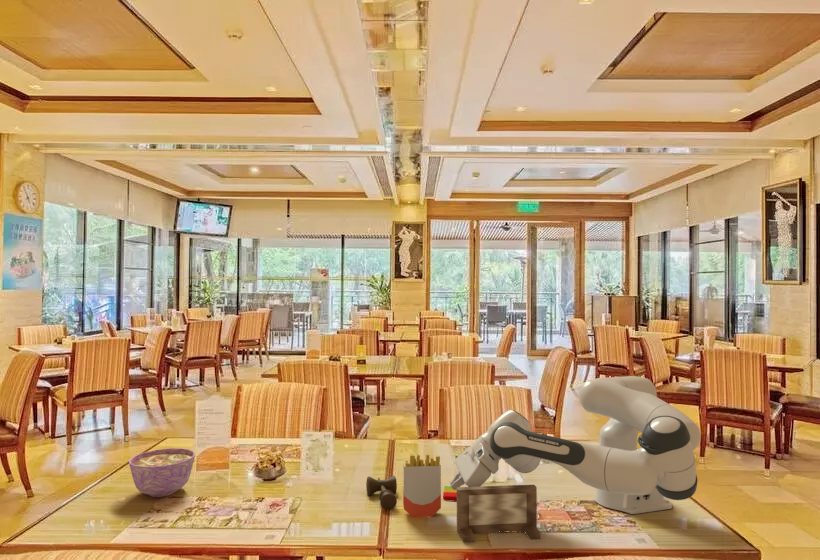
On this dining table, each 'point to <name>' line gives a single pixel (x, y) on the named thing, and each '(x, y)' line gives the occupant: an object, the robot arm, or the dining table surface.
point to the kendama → (383, 491)
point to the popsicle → (449, 493)
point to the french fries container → (422, 486)
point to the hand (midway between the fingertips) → (452, 487)
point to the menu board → (497, 510)
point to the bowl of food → (161, 470)
